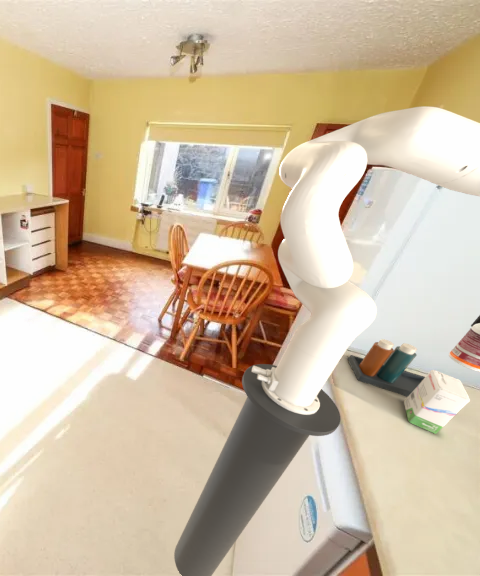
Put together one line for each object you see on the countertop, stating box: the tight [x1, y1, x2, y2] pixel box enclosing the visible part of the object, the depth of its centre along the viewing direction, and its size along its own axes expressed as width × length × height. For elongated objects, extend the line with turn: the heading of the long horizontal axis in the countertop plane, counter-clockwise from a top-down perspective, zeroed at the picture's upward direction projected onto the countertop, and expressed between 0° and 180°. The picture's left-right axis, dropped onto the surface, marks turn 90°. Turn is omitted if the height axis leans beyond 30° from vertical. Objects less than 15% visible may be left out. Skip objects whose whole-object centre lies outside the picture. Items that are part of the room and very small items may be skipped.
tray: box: [347, 354, 426, 397], centre depth 77 cm, size 19×11×2 cm, turn 62°
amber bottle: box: [359, 338, 395, 376], centre depth 77 cm, size 4×4×11 cm
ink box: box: [403, 369, 471, 435], centre depth 64 cm, size 8×5×12 cm, turn 139°
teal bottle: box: [377, 342, 418, 383], centre depth 76 cm, size 4×4×12 cm
